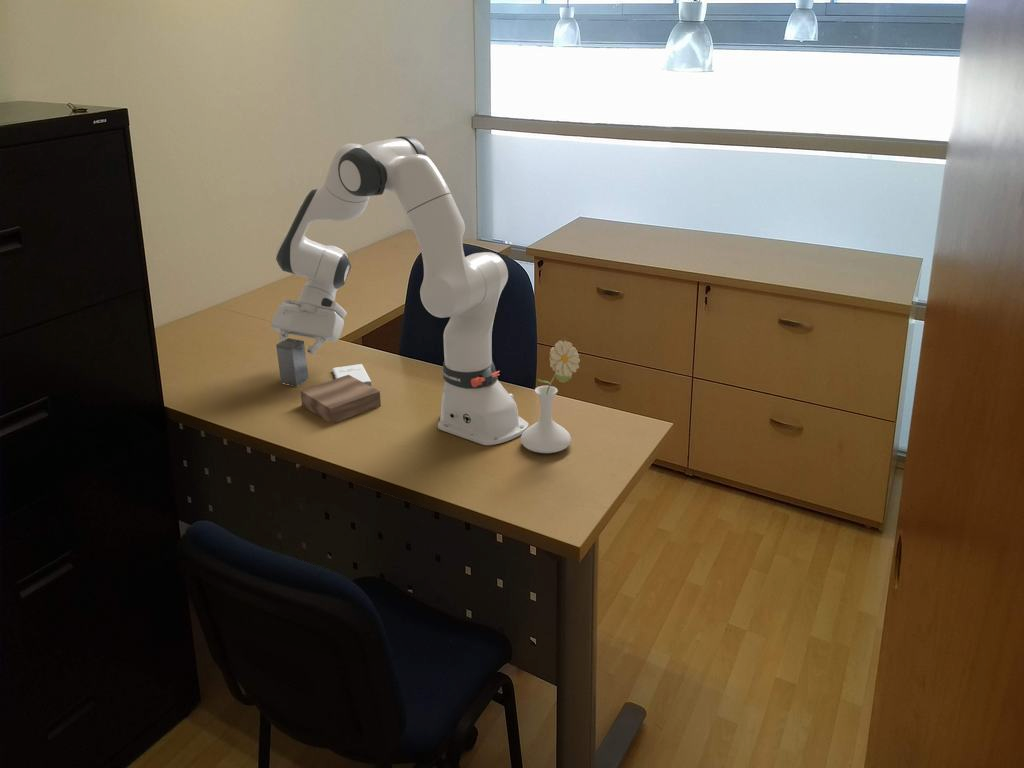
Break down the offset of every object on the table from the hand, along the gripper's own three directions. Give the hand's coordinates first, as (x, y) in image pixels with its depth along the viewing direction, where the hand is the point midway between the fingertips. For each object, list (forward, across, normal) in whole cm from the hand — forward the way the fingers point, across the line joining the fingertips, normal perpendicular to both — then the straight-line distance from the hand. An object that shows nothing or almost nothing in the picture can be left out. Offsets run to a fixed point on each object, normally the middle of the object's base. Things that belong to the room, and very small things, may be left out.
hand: (296, 350), depth 225 cm
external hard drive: (+2, +13, +10) cm, 16 cm away
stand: (+12, +20, -1) cm, 23 cm away
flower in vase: (+11, +75, 0) cm, 76 cm away
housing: (+7, 0, +4) cm, 8 cm away
